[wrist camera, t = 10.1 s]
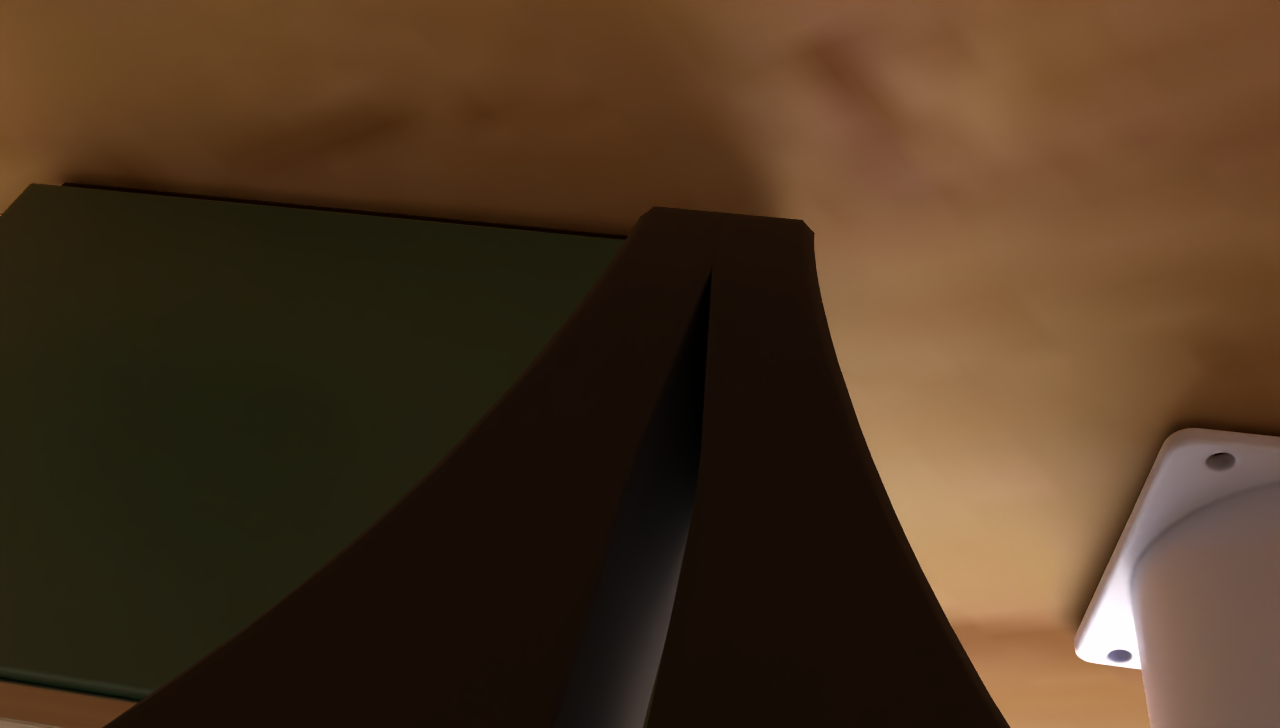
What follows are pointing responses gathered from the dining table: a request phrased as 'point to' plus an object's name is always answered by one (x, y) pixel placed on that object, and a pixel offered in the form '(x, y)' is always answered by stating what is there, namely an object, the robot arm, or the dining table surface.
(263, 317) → the toaster
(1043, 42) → the dining table surface
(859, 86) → the dining table surface
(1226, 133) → the dining table surface
